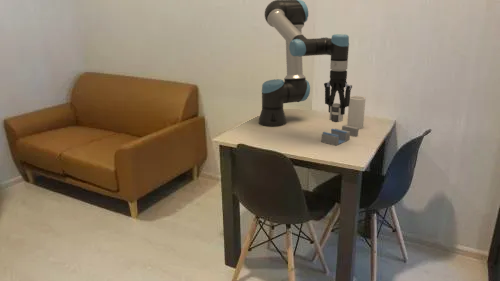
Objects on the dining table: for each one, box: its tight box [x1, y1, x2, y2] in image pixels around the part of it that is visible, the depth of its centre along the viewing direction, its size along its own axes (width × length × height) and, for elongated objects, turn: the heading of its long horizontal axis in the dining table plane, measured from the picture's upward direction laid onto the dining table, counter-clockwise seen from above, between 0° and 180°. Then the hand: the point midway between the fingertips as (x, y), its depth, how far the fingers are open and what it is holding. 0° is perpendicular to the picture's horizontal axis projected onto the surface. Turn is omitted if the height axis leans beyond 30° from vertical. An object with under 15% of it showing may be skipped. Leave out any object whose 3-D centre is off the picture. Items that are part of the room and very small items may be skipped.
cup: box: [346, 95, 366, 130], centre depth 210 cm, size 8×8×16 cm
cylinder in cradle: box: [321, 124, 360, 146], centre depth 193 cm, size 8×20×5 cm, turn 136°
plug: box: [331, 102, 340, 123], centre depth 186 cm, size 4×4×8 cm
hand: (336, 120), depth 187 cm, fingers closed on plug, 4 cm apart
